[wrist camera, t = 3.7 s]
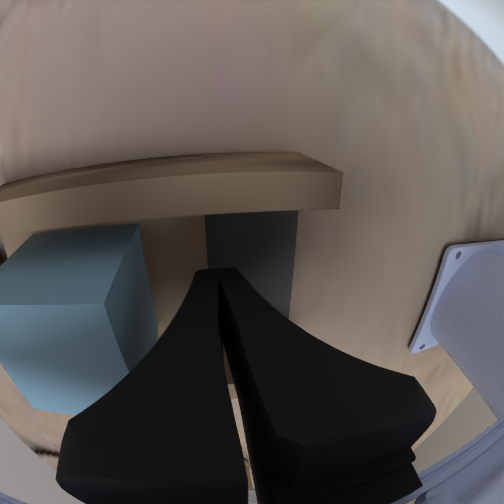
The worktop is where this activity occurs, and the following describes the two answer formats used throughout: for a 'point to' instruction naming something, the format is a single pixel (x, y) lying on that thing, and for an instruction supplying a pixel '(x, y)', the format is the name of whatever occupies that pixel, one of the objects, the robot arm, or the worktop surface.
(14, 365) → the blue block
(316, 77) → the worktop surface
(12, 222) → the walnut channel
